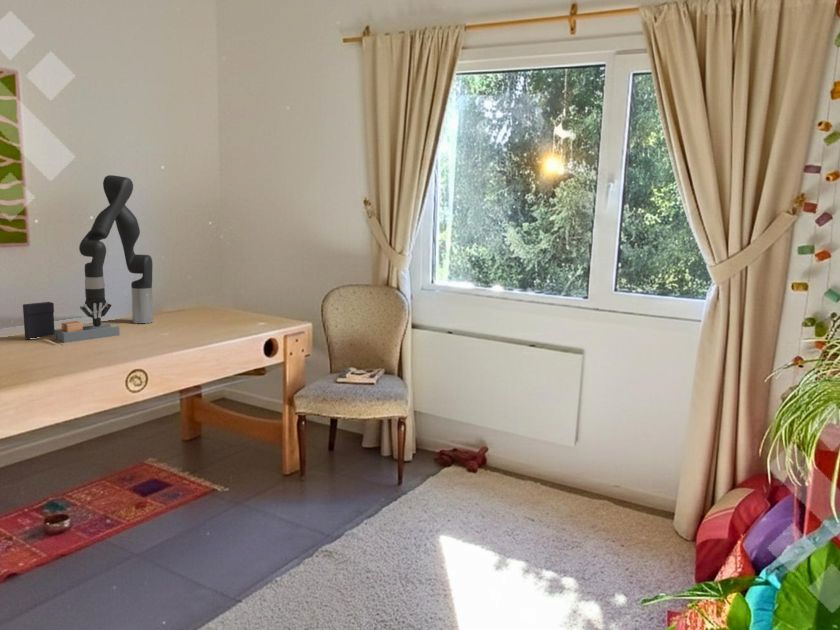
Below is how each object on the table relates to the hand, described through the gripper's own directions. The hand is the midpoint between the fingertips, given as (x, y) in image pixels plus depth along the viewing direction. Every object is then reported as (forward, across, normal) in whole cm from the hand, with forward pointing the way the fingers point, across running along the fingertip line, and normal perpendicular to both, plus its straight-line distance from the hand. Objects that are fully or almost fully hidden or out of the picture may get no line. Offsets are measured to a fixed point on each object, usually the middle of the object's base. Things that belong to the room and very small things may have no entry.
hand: (96, 326), depth 284 cm
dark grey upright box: (+5, +18, -14) cm, 24 cm away
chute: (+5, +4, 0) cm, 6 cm away
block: (+4, +10, +1) cm, 11 cm away
